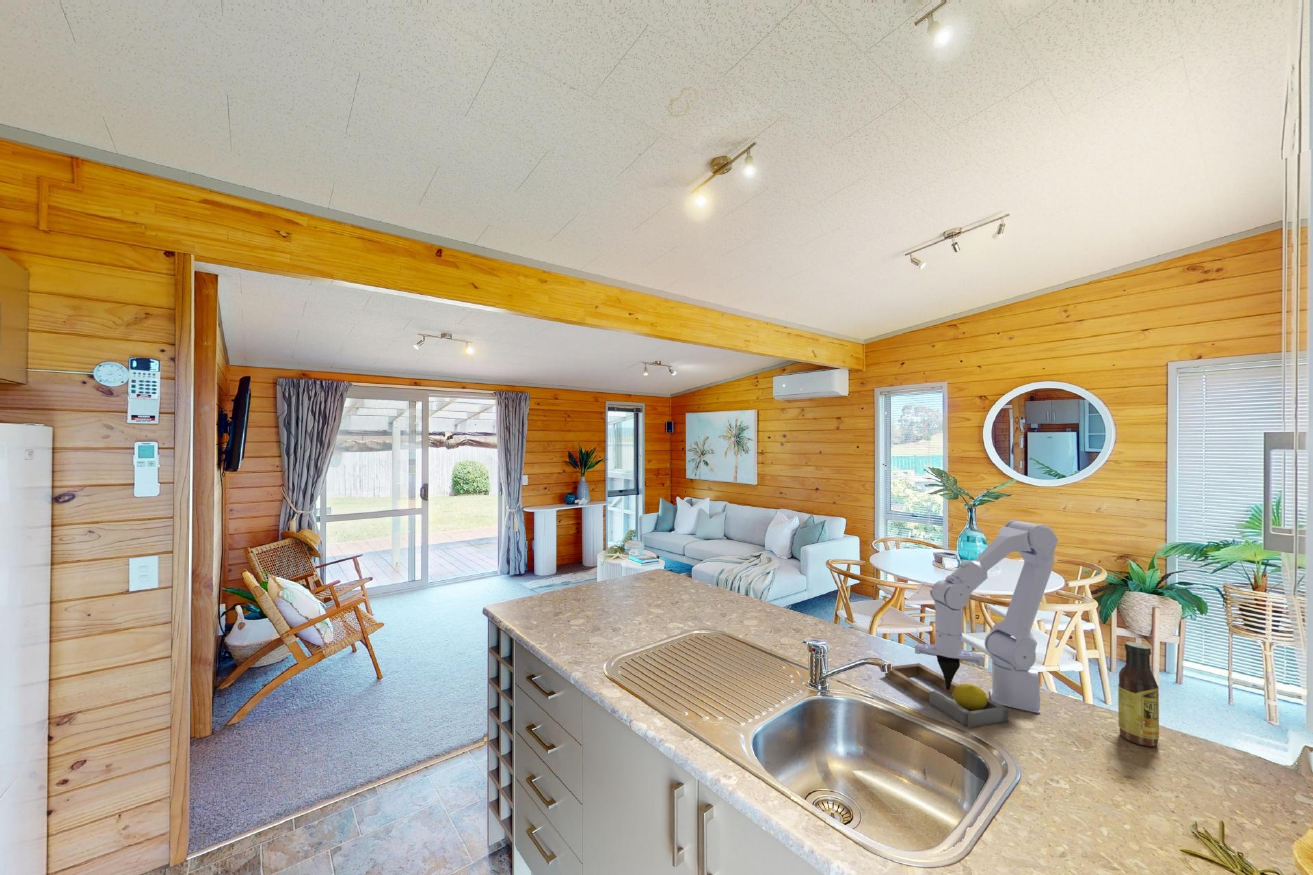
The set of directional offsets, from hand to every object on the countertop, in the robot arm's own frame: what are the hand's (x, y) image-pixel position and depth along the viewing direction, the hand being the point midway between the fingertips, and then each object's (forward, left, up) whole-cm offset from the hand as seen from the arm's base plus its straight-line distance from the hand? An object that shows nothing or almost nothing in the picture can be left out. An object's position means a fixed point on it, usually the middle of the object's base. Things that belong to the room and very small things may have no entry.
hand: (947, 688), depth 122 cm
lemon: (-1, 0, -1) cm, 1 cm away
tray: (-4, +3, -4) cm, 6 cm away
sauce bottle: (-35, -3, -4) cm, 35 cm away
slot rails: (+5, -6, -4) cm, 8 cm away
